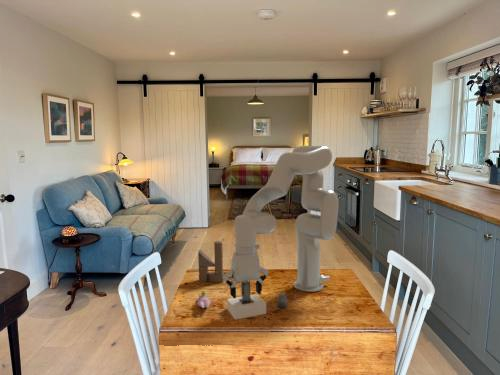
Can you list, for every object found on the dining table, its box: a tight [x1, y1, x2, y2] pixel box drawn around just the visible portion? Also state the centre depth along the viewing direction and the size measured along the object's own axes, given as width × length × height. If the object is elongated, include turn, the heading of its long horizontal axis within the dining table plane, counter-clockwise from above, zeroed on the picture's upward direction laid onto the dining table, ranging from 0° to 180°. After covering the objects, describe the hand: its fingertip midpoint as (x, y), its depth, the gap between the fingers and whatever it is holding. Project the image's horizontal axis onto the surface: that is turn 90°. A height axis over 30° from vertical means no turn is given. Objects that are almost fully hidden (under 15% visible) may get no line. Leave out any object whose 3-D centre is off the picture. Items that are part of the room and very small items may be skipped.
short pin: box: [277, 293, 288, 310], centre depth 142 cm, size 3×3×4 cm
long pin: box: [240, 281, 251, 304], centre depth 138 cm, size 3×3×11 cm
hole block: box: [226, 293, 267, 320], centre depth 138 cm, size 12×9×4 cm
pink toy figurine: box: [194, 290, 212, 309], centre depth 143 cm, size 6×6×15 cm
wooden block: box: [197, 240, 225, 283], centre depth 168 cm, size 4×11×18 cm, turn 85°
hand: (246, 294), depth 138 cm, fingers open, 9 cm apart
